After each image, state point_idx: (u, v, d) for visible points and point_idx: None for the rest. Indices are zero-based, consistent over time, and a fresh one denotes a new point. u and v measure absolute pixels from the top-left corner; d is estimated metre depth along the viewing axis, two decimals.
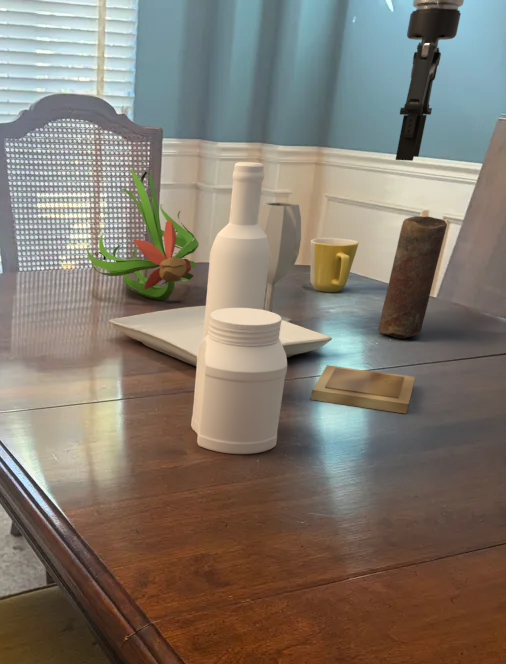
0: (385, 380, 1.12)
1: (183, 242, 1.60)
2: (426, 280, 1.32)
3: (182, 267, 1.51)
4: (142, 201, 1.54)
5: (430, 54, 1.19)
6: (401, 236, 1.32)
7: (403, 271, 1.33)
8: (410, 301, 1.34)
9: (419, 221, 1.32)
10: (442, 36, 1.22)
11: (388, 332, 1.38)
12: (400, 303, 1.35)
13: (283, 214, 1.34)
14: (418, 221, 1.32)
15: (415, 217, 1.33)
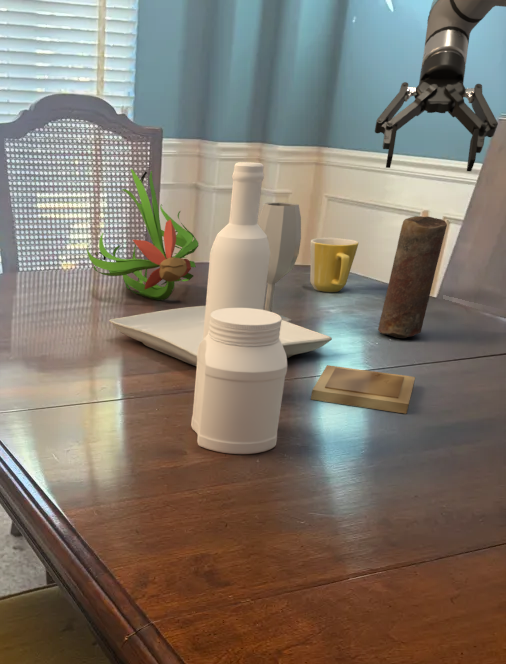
0: (385, 380, 1.12)
1: (183, 242, 1.60)
2: (426, 280, 1.32)
3: (182, 267, 1.51)
4: (142, 201, 1.54)
5: None
6: (401, 236, 1.32)
7: (403, 271, 1.33)
8: (410, 301, 1.34)
9: (419, 221, 1.32)
10: (429, 75, 1.38)
11: (388, 332, 1.38)
12: (400, 303, 1.35)
13: (283, 214, 1.34)
14: (418, 221, 1.32)
15: (415, 217, 1.33)
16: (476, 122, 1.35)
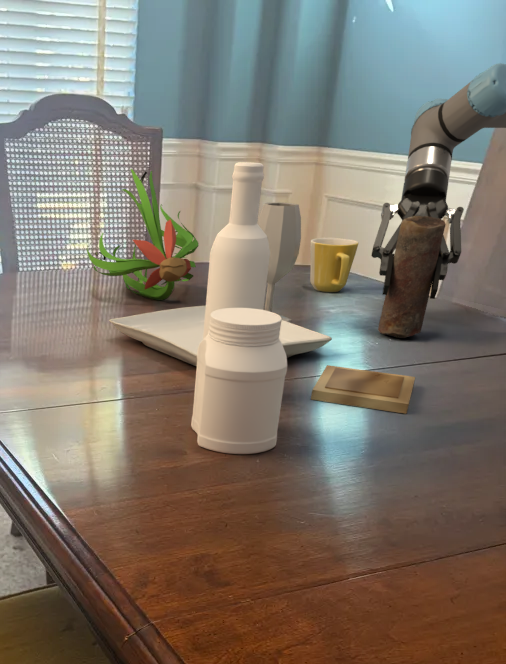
0: (385, 380, 1.12)
1: (183, 242, 1.60)
2: (425, 279, 1.32)
3: (182, 267, 1.51)
4: (142, 201, 1.54)
5: (383, 211, 1.38)
6: (400, 236, 1.32)
7: (402, 271, 1.33)
8: (409, 301, 1.34)
9: (418, 221, 1.32)
10: (412, 191, 1.37)
11: (388, 332, 1.38)
12: (400, 303, 1.35)
13: (283, 214, 1.34)
14: (417, 221, 1.32)
15: (414, 217, 1.33)
16: (442, 248, 1.33)
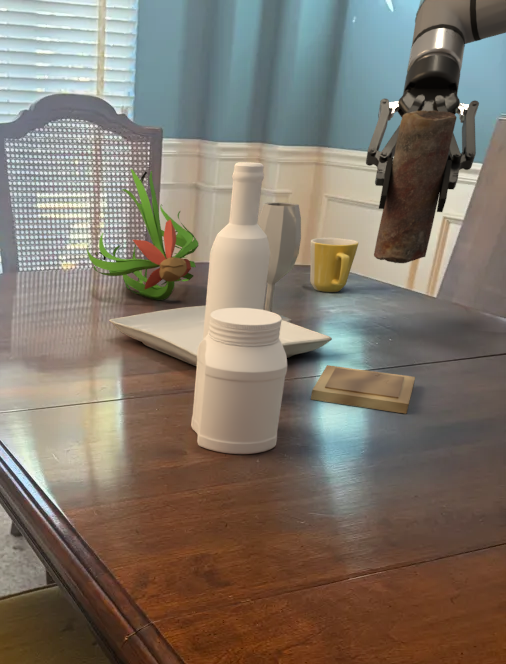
0: (385, 380, 1.12)
1: (183, 242, 1.60)
2: (431, 188, 1.08)
3: (182, 267, 1.51)
4: (142, 201, 1.54)
5: (380, 109, 1.13)
6: (400, 134, 1.07)
7: (403, 178, 1.08)
8: (411, 216, 1.10)
9: (422, 115, 1.08)
10: (415, 83, 1.12)
11: (386, 256, 1.14)
12: (400, 219, 1.10)
13: (283, 214, 1.34)
14: (421, 115, 1.08)
15: (417, 111, 1.09)
16: (452, 150, 1.09)
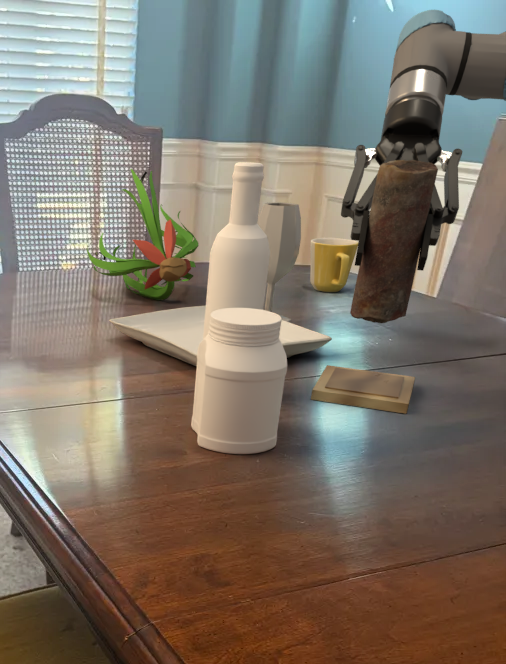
0: (385, 380, 1.12)
1: (183, 242, 1.60)
2: (411, 244, 0.99)
3: (182, 267, 1.51)
4: (142, 201, 1.54)
5: (356, 156, 1.05)
6: (377, 186, 0.99)
7: (380, 234, 0.99)
8: (390, 274, 1.01)
9: (401, 166, 0.99)
10: (394, 129, 1.04)
11: (363, 315, 1.05)
12: (378, 277, 1.02)
13: (283, 214, 1.34)
14: (399, 166, 0.99)
15: (396, 161, 1.00)
16: (433, 203, 1.00)
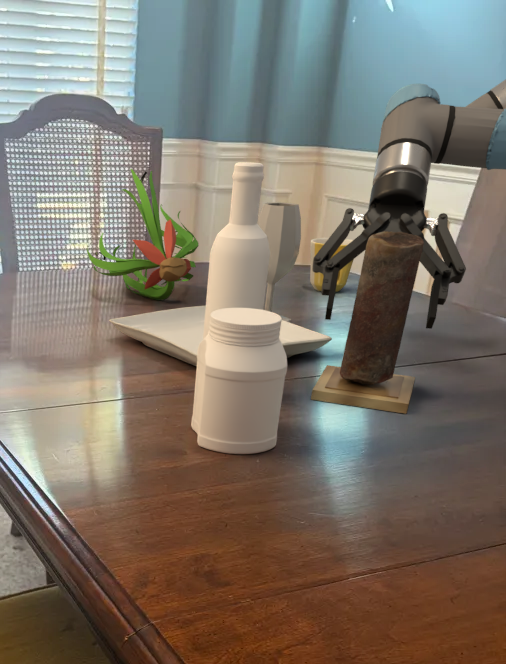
0: None
1: (183, 242, 1.60)
2: (397, 313, 1.04)
3: (182, 267, 1.51)
4: (142, 201, 1.54)
5: (343, 218, 1.09)
6: (366, 257, 1.03)
7: (369, 302, 1.04)
8: (377, 340, 1.05)
9: (389, 238, 1.03)
10: (381, 200, 1.08)
11: (351, 377, 1.09)
12: (366, 342, 1.06)
13: (283, 214, 1.34)
14: (387, 238, 1.03)
15: (384, 233, 1.04)
16: (438, 265, 1.04)
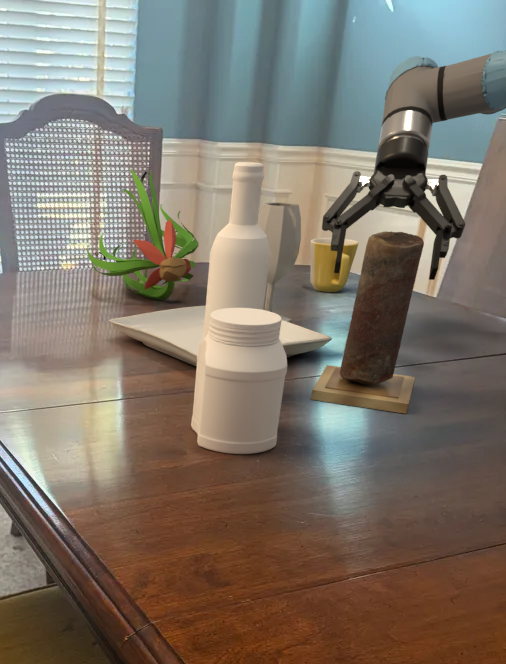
0: None
1: (183, 242, 1.60)
2: (397, 313, 1.04)
3: (182, 267, 1.51)
4: (142, 201, 1.54)
5: (351, 180, 1.18)
6: (366, 257, 1.03)
7: (369, 302, 1.04)
8: (377, 340, 1.05)
9: (389, 238, 1.03)
10: (385, 163, 1.17)
11: (351, 377, 1.09)
12: (366, 342, 1.06)
13: (283, 214, 1.34)
14: (388, 238, 1.03)
15: (384, 233, 1.04)
16: (440, 222, 1.13)
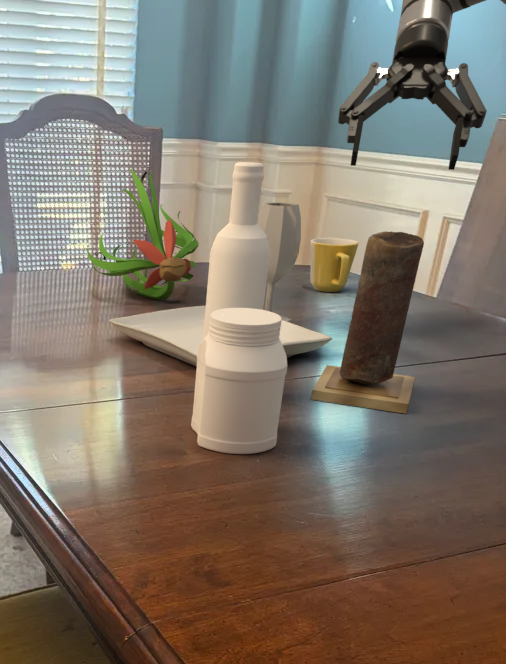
0: None
1: (183, 242, 1.60)
2: (397, 313, 1.04)
3: (182, 267, 1.51)
4: (142, 201, 1.54)
5: (368, 72, 1.15)
6: (366, 257, 1.03)
7: (369, 302, 1.04)
8: (377, 340, 1.05)
9: (389, 238, 1.03)
10: (404, 53, 1.14)
11: (351, 377, 1.09)
12: (366, 342, 1.06)
13: (283, 214, 1.34)
14: (388, 238, 1.03)
15: (384, 233, 1.04)
16: (460, 109, 1.10)
